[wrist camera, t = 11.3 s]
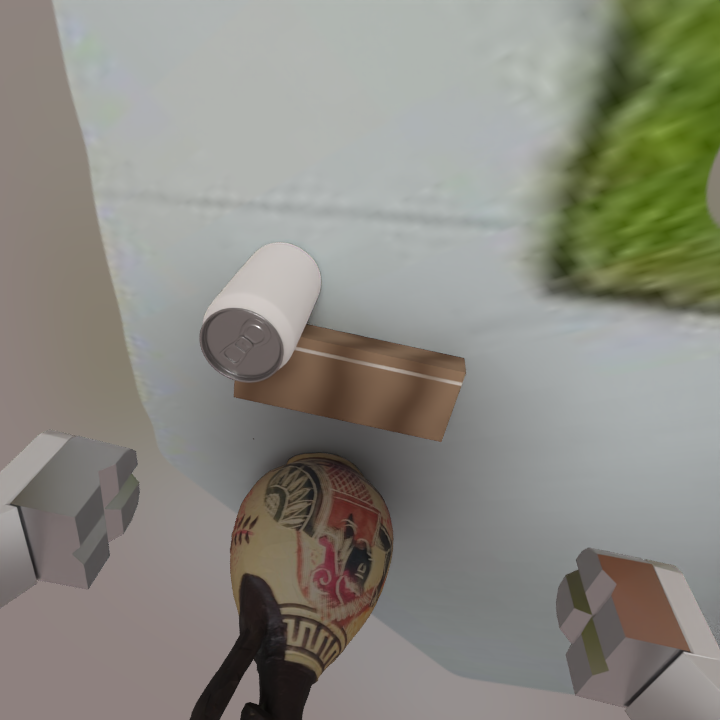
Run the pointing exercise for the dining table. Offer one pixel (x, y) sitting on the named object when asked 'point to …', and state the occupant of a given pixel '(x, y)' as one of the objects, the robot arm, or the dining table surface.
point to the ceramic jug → (300, 580)
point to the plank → (364, 383)
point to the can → (261, 313)
